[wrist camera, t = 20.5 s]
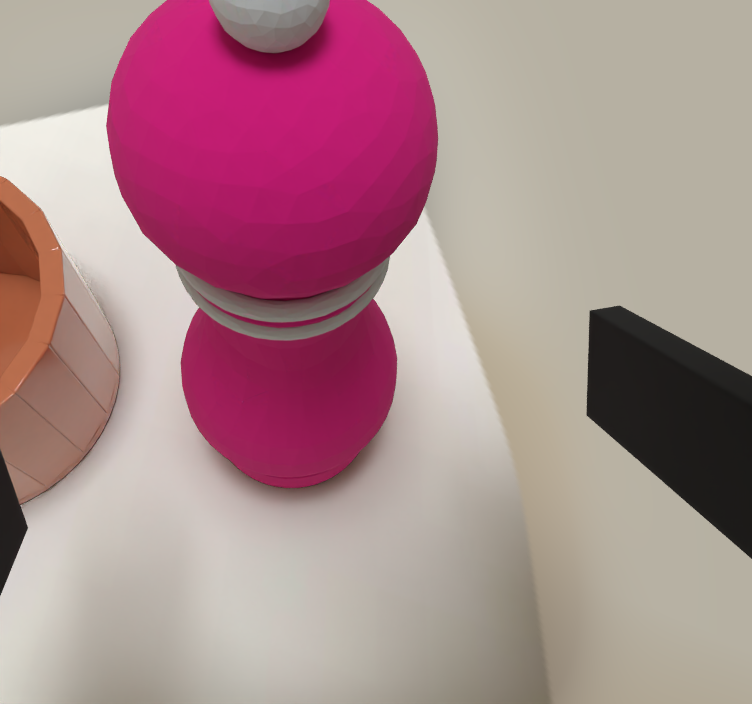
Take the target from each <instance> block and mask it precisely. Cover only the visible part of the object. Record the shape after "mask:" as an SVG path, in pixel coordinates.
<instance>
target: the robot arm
mask: <svg viewBox="0 0 752 704" xmlns="http://www.w3.org/2000/svg"><path fill="white" fill-rule="evenodd" d="M587 387H588V388H587V416H588V417H589V418H590V419H592V420H593V421H594V422H595V423H596V424H597V425H598V426H600V427H601V428H602V429H603V430H604V431H605V432H606V433H608V434H609V435H610V436H611V437H612V438H613V439H615V440H616V441H617V442H618V443H619V444H620V445H621V446H623V447H624V448H625V449H626V450H627V451H628V452H629V453H631V454H632V455H633V456H634V457H635V458H637V459H638V460H639V461H640V462H641V463H642V464H643V465H644V466H646V467H647V468H648V469H649V470H650V471H651V472H652V473H654V474H655V475H656V476H657V477H658V478H659V479H661V480H662V481H663V482H664V483H665V484H666V485H667V486H669V487H670V488H671V489H672V490H673V491H674V492H676V493H677V494H678V495H679V496H680V497H681V498H682V499H684V500H685V501H686V502H687V503H688V504H689V505H690V506H692V507H693V508H694V509H695V510H696V511H697V512H699V513H700V514H701V515H702V516H703V517H704V518H705V519H707V520H708V521H709V522H710V523H711V524H712V525H714V526H715V527H716V528H717V529H718V530H719V531H720V532H722V533H723V534H724V535H725V536H726V537H727V538H728V539H730V540H731V541H732V542H733V543H734V544H735V545H737V546H738V547H739V548H740V549H741V550H742V551H743V552H745V553H746V554H747V555H748V556H749V557H750V558H751V559H752V376H750V375H749V374H746V373H745V372H743V371H741V370H739V369H737V368H735V367H734V366H732V365H730V364H728V363H726V362H724V361H722V360H720V359H719V358H717V357H715V356H713V355H711V354H709V353H707V352H706V351H704V350H702V349H700V348H698V347H696V346H694V345H692V344H691V343H689V342H687V341H685V340H683V339H681V338H679V337H677V336H676V335H674V334H672V333H670V332H668V331H666V330H664V329H662V328H660V327H659V326H657V325H655V324H653V323H651V322H649V321H647V320H646V319H644V318H642V317H639V316H638V315H636V314H634V313H632V312H631V311H629V310H627V309H625V308H623V307H621V306H614V307H609V308H603V309H597V310H591V311H590V322H589V354H588V385H587ZM27 529H28V527H27V524H26V521H25V518H24V515H23V512H22V509H21V506H20V504H19V501H18V498H17V495H16V492H15V489H14V486H13V483H12V481H11V478H10V475H9V472H8V469H7V466H6V463H5V461H4V458H3V455H2V452H1V449H0V595H1V593H2V590H3V588H4V585H5V583H6V581H7V578H8V576H9V573H10V571H11V568H12V566H13V563H14V561H15V558H16V556H17V553H18V551H19V548H20V546H21V544H22V541H23V539H24V536H25V534H26V531H27Z"/></svg>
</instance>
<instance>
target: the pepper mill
mask: <svg viewBox="0 0 752 704" xmlns="http://www.w3.org/2000/svg"><path fill="white" fill-rule="evenodd" d="M106 127H107V134H108V141H109V148H110V154H111V159H112V164H113V169H114V174H115V177H116V180H117V183H118V186H119V189H120V192H121V195H122V197H123V199H124V201H125V202H126V204H127V206H128V208H129V209H130V211H131V213H132V215H133V217H134V218H135V220H136V222H137V224H138V225H139V227H140V229H141V231H142V233H143V234H144V235H145V236H146V237H147V238H148V239H149V240H150V241H152V242H153V243H154V244H155V245H156V246H157V247H158V248H159V249H160V250H161V251H162V252H163V253H164V254H165V255H166V256H167V257H168V258H169V259H170V260H171V261H173V262H174V263H175V264H176V268H177V271H178V274H179V277H180V279H181V281H182V283H183V285H184V287H185V289H186V290H187V292H188V293H189V295H190V296H191V297H192V299H193V300H194V302H195V303H196V304H197V305H198V306H199V309H198V310H197V312H196V314H195V315H194V317H193V319H192V321H191V324H190V326H189V329H188V331H187V334H186V338H185V342H184V347H183V352H182V358H181V373H182V387H183V391H184V395H185V399H186V402H187V405H188V408H189V411H190V414H191V417H192V419H193V421H194V422H195V424H196V426H197V428H198V429H199V431H200V433H201V434H202V435H203V436H204V437H205V439H206V440H207V441H208V442H209V444H210V445H211V446H213V447H214V448H215V449H216V450H217V451H218V452H220V453H221V454H222V455H223V456H224V457H226V458H227V459H229V460H230V461H231V462H232V463H233V464H234V465H235V466H236V467H237V468H238V469H240V470H241V471H242V472H243V473H245V474H246V475H248V476H249V477H251V478H253V479H255V480H257V481H259V482H262V483H264V484H267V485H271V486H276V487H283V488H300V487H307V486H311V485H315V484H318V483H321V482H323V481H326V480H328V479H330V478H332V477H334V476H335V475H337V474H338V473H339V472H341V471H342V470H344V469H345V468H346V467H347V466H348V465H349V464H350V463H351V462H352V461H353V459H354V458H355V457H356V456H357V455H358V453H359V452H360V451H361V450H362V449H363V448H364V447H365V446H366V445H367V444H368V443H369V442H370V441H371V439H372V438H373V437H374V436H375V435H376V433H377V432H378V431H379V429H380V428H381V426H382V424H383V423H384V421H385V419H386V417H387V415H388V412H389V410H390V407H391V404H392V401H393V396H394V391H395V385H396V374H397V356H396V350H395V345H394V340H393V337H392V334H391V331H390V328H389V326H388V324H387V321H386V319H385V316H384V314H383V313H382V311H381V309H380V308H379V306H378V305H377V303H376V302H375V301H374V299H373V298H374V296H375V295H376V293H377V292H378V290H379V288H380V286H381V284H382V283H383V281H384V278H385V275H386V272H387V269H388V264H389V259H390V255H391V254H392V253H393V252H394V251H395V250H396V249H397V247H398V246H399V245H400V244H401V243H402V241H403V240H404V239H405V238H406V236H407V235H408V234H409V233H410V231H411V230H412V229H413V228H414V226H415V225H416V224H417V222H418V219H419V217H420V215H421V212H422V210H423V208H424V206H425V203H426V200H427V197H428V193H429V190H430V187H431V183H432V180H433V176H434V173H435V167H436V160H437V146H438V131H437V119H436V110H435V103H434V99H433V95H432V92H431V88H430V85H429V82H428V78H427V75H426V72H425V70H424V68H423V66H422V63H421V61H420V59H419V57H418V55H417V53H416V52H415V50H414V49H413V48H412V46H411V45H410V43H409V42H408V40H407V39H406V37H405V36H404V34H403V33H402V31H401V30H400V29H399V28H398V27H397V26H396V25H395V24H394V23H393V22H392V21H391V20H390V19H389V18H388V17H387V16H386V15H385V14H383V12H382V11H381V10H380V9H379V8H377V7H376V6H374V5H373V4H371V3H370V2H368V1H367V0H167V1H165V2H164V3H163V4H162V5H161V6H159V7H158V8H157V9H156V10H155V11H153V12H152V13H151V14H150V15H149V16H148V17H147V18H146V20H145V21H144V22H143V23H142V24H141V26H140V27H139V28H138V29H137V30H136V32H135V33H134V34H133V35H132V36H131V38H130V40H129V42H128V45H127V46H126V49H125V51H124V53H123V55H122V57H121V59H120V61H119V64H118V67H117V69H116V72H115V74H114V77H113V79H112V83H111V92H110V100H109V108H108V116H107V124H106Z"/></svg>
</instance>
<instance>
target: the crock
mask: <svg viewBox="0 0 752 704" xmlns="http://www.w3.org/2000/svg"><path fill="white" fill-rule="evenodd" d="M119 372H120V364H119V353H118V348H117V344H116V340H115V336H114V334H113V331H112V329H111V327H110V324H109V322H108V321H107V319H106V317H105V315H104V314H103V312H102V310H101V308H100V306H99V304H98V302H97V300H96V299H95V297H94V295H93V294H92V292H91V290H90V289H89V287H88V285H87V284H86V282H85V280H84V279H83V277H82V275H81V274H80V272H79V270H78V269H77V267H76V265H75V264H74V262H73V260H72V259H71V257H70V255H69V254H68V252H67V250H66V249H65V247H64V245H63V244H62V242H61V240H60V239H59V237H58V235H57V234H56V232H55V230H54V229H53V227H52V226H51V224H50V222H49V221H48V219H47V217H46V216H45V214H44V212H43V211H42V210H41V208H40V207H39V206H37V205H36V204H35V203H34V202H33V201H32V200H31V199H29V198H28V197H27V196H26V195H25V194H24V193H23V192H22V191H20V190H19V189H18V188H17V187H16V186H15V185H14V184H13V183H11V182H10V181H9V180H7V179H6V178H4V177H1V176H0V449H1V452H2V455H3V458H4V461H5V463H6V466H7V469H8V472H9V475H10V478H11V481H12V483H13V486H14V489H15V492H16V495H17V498H18V501H19V504H22V503H24V502H27V501H29V500H30V499H32V498H34V497H36V496H37V495H39V494H41V493H42V492H44V491H46V490H47V489H49V488H50V487H51V486H53V485H54V484H55V483H57V482H58V481H60V480H61V479H62V478H63V477H65V476H66V475H67V474H68V473H69V472H70V471H71V470H72V469H73V468H74V467H75V466H76V465H77V464H78V463H79V462H80V461H81V460H82V459H83V458H84V456H85V455H86V454H87V453H88V452H89V451H90V449H91V448H92V446H93V445H94V443H95V442H96V440H97V439H98V438H99V436H100V435H101V433H102V431H103V429H104V427H105V425H106V423H107V421H108V419H109V417H110V414H111V411H112V409H113V406H114V403H115V400H116V395H117V390H118V385H119Z"/></svg>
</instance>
